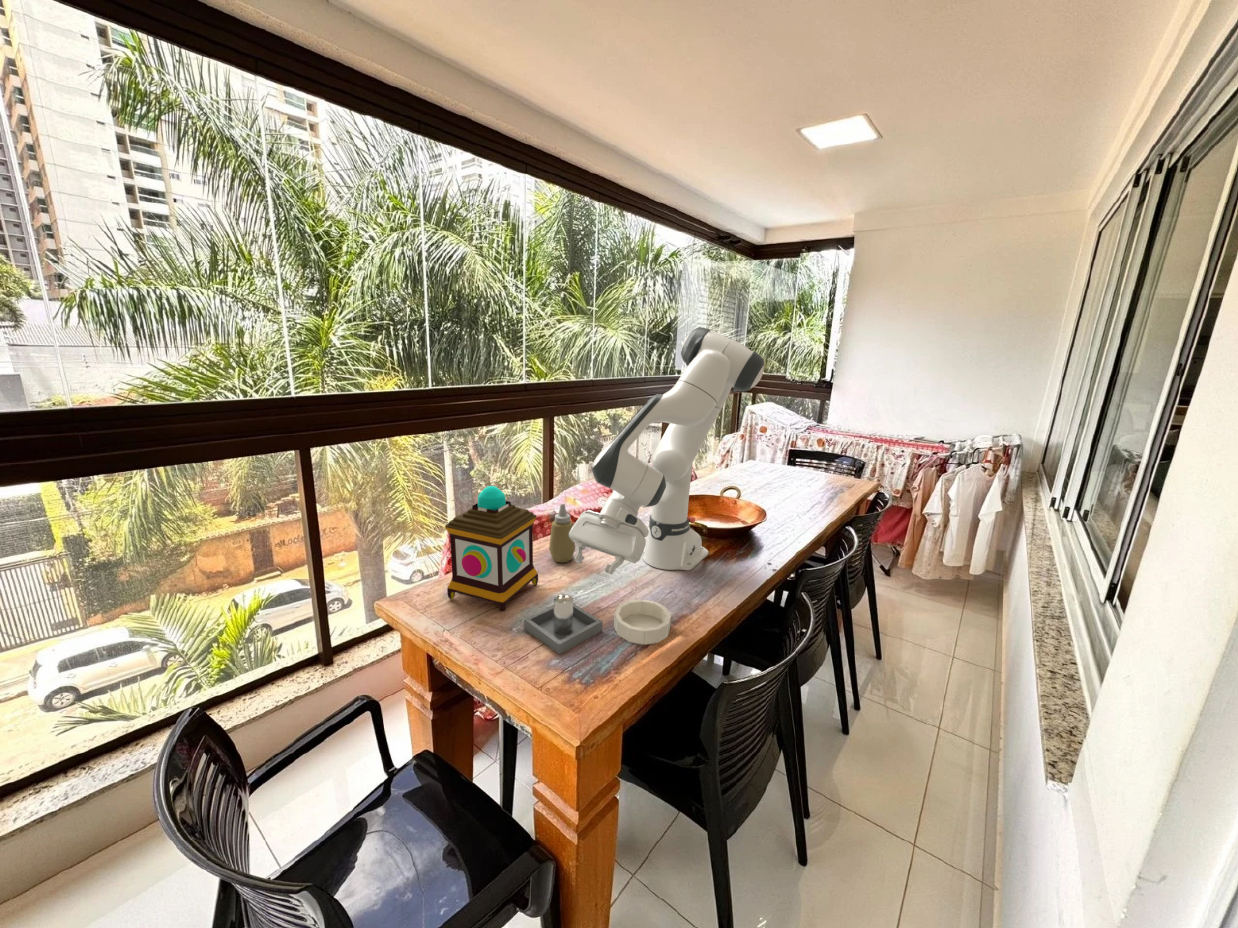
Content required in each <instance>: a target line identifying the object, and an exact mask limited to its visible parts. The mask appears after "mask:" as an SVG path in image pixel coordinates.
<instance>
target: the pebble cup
mask: <svg viewBox="0 0 1238 928" xmlns="http://www.w3.org/2000/svg"><path fill="white" fill-rule="evenodd" d="M573 604H574V597H573V596H571V595H570V594H566V593H564V594H558V595H555V596H554V598H553V605H554V632H555V633H556V634H558V635H568V634H570V633H571V632H572V631H573Z"/></svg>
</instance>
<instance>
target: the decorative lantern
mask: <svg viewBox="0 0 1238 928" xmlns="http://www.w3.org/2000/svg"><path fill="white" fill-rule="evenodd" d="M536 520H537V514H535V513H534V512H532V511H530V510H529V509H526V508H522V507H518V506H516V505H515V504H512V503H511V501H507V499H506V495H505V493H504V492H503V491H502V490H501V489H500V488H499V487H497V486H495V485H489V486H486V487H485V488H483V489H482V490H481V492H479V494H478V497H477V503H476V504H472V508H469V509H468V510H466V511H465V512H462V513H461V514H459V515H457V516H455V517H453V519H452V520H451V519H450V521H448V522H447V524H445V525H444V528H445V530H446V531H447V533H448V534H449V540H450V559H451V561H450V562H451V573H452V574H451V575H452V576H451V580H450V582H449V584H448V586H447V588H446V589H447V593H446V594H447V597H448V599H449V600H454V599H455V596H456V594H460V595H463V596H466V597H471V598H475V599H479V600H482V601H485V602H490V603H494V604H496V605H497V606H498V610H499V611H500V612H505V611H506V607H507V603H508V602H509V601H510V600H511V599H512V598H514V597H515V596H516V595H517V594H518V593H519V592H520V591H522V590H523V589H524V588H525V587H527V586H528V585H529V584H530V583H532V585H533V586H536V585H537V584H538V582H539V572H538V571H537V569H536V568H535V566H534V546H533V545H534V540H533V539H534V537H533V535H534V534H533V532H534V531H533V529H534V523H535V521H536Z"/></svg>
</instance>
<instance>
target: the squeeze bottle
mask: <svg viewBox="0 0 1238 928" xmlns="http://www.w3.org/2000/svg"><path fill="white" fill-rule="evenodd" d="M565 505H566V504H565V503H561V504H560V507H559V510H558V513H556V514H555V515H554V521H553V522H551V528H550V537H549V548H548V551H549V552H550V555H551V558H552V560H553V562H555V563H568V562H571V560H572V559H573V555H574V553H575V551H576V543H575V542H573V541H572V540H571V539H570V538H569V532H570V530H571V529H572V527H573V525H574V522H573V521H572V520H571V515H570V514H569V513H568V512H567V509H566V506H565Z"/></svg>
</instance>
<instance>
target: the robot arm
mask: <svg viewBox="0 0 1238 928" xmlns="http://www.w3.org/2000/svg"><path fill="white" fill-rule="evenodd" d="M680 356H681V358H682V361H683V362H684V363H685V365H686V367H685V369H684V371H683V372H682V374H681V375H680V377H679V378H678V380H677V381H676V383H675V384H674V385H673V386H672V388H670V389H669V390H668V391H666V392H665V393H656V394H654V395H653V396H652V397H650V398H649V399H648V400H647V401H646V402H645V404H643V405H642V407H641V408H640V409H639V410H638V411H637V412H636V413H635V414H634V416H633V417H632V418H631V419H629V421H628V422H627V423H626V425H625V426H624V427H623V428H622V430H621V431H620V432H619V433H618V434H617V435H616V436H615V438H613V440H612V441H611V442H610V443H609V444H608V445H607V446H605V448H603V449H602V450H601V451H600V452H599V453H598V455H596V457H595V459H594V461H593V463H592V466H591V470H592V471H591V472H592V475H593V478H594V480H595V482H596V483H597V484H599V485H602V486H603V487H605V488H607V489H611V490H612V491H611V494H610V495H609V497H607V499H606V501H605V503H604V504H603V507H602V509H601V510H600V512H598V511H594V510H592V509H591V510H590V509H588V510H586V511H583V512H581V513H580V515H579V516H578V519H577V520H576V521H575V522H574V523H573V527H572V529H571V530H570V532H569V538H570V539H571V540H572V541H573V542H575V551H576V554H575V555H574V558H573V560H574V561H575V562H576V563H579V564H582V563H583V561H584V560H585V559H584V558H585V557H584V555H583V551H585V549H586V548H589V549H592V550H595V551H598V552H601V553H604V554H606V555H610V556H613V557H614V561H613V562H612V563H611V564H607V565H606V567H605V569H604V571H605V572H606V573H607V574H609V575H613V574H614V573H615V571H616V569H618V568H619V567H620V566H621V565H623V564H624V561H627V562H629V563H632V564H636V563H638V562H640V560H641V558H642V555H643V560H644V562H645V564H647V565H649V566H651V567H654V568H656V569H660V570H669V571H670V570H671V571H674V570H675V571H676V570H681V571H691V570H692V569H693V568H695V567H696V566H697V565H698V564H699V563H700V562H701V561H702V560H703V559H705V558H706V557H707V556H709V551H708V549H707V548H706V547H704V546H702V542H703V541H702V537H701V535H700V534H699V533H698V532H696V531H695V530H694V529H692V528H691V525H690V524H692V525H693V524H694V523H695V522H696V518H695V516H691V515H689V516H688V513H689V499H690V489H691V481H692V471H693V463H694V462H695V461H694V460H696V459H695V458H696V457H697V455H698V453H699V451H700V449H701V447H702V446H703V444H704V442H705V440H706V438H707V436H708V434H709V432H710V430H711V428H712V427H713V426H714V423H715V422H716V420H717V418H718V416H719V414H720V413H721V411H722V409H723V407H724V405H725V403H726V402H727V399H728V397H729V394H730V393H731V390H732V388H733V393H736V392H748V391H751V389H753V388H754V387H755V386H756V385H758V383H759V382H760V381H761V379H762V377H763V375H764V374H763V373H764V370H765V364H766V363H765V360H764V359H765V358H763V357H762V356H761V355H760V354H758V353H757V352H756V351H754V352H753V350H751V349H749V348H748V347H747V346H745V345H743V344H742V343H740V342H738V341H737V340H735V339H731V338H729V337H727V336H724V335H722V334H720V333H717V332H714V331H711V329H709V328H705V327H701V326H698V327H696V328H694V329H692V331H690V332H689V333H688V334H687V336H686V337H685V338H684V340H683V342H682V346H681V351H680ZM654 423H665V424H668V426H667V428H666V430H665V432H664V433H663V436H662V437H661V439H660V441H659V443H658V444H657V447H656V448H655V450H654V451H653V454H652V457H651V464H650V463H649V462H647V461H645V460H643V459H640V458H637V457H636V456H634V455H633V454H631V453H630V452H629V449H630V447H631V446H632V445H633V444H634V443H635V441H636V440H637V439H638V438H639V437H640V436H641V435H642V433H643V432H644V431H645V430H646V429H647V427H649V426H650V425H652V424H654ZM641 507H642V508H649V507H651V511H650V515H649V520H648V527H647V525H646V524H645V523H644V522H643V520H642V519H640V518H639V517H638V515H639V511H640V508H641Z"/></svg>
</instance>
